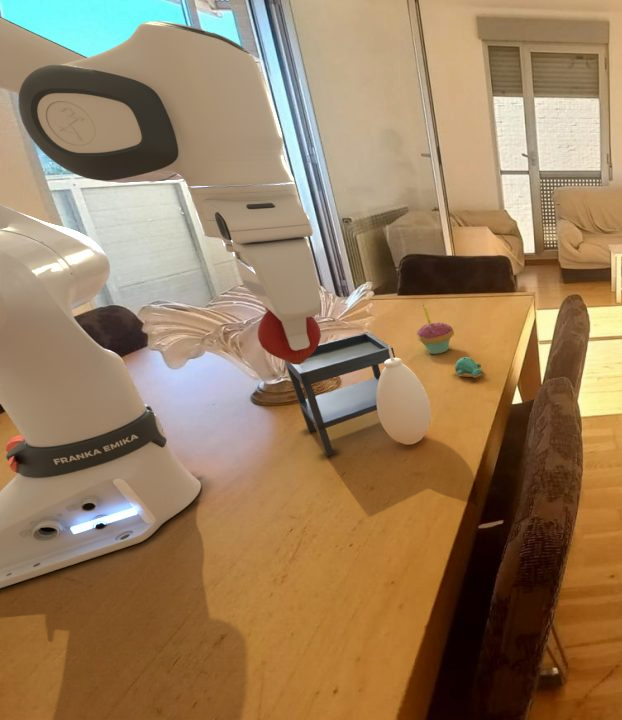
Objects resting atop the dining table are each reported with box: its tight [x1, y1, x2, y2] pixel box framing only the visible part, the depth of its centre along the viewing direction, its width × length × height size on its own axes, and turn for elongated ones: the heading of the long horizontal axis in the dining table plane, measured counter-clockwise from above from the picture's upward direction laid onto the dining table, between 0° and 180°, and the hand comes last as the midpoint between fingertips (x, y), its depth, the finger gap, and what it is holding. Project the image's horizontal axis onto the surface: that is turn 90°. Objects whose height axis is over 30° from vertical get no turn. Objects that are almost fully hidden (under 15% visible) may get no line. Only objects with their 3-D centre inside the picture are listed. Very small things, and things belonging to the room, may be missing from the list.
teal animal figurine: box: [454, 356, 485, 379], centre depth 105 cm, size 6×7×4 cm
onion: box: [257, 310, 322, 364], centre depth 54 cm, size 6×6×8 cm
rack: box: [283, 331, 396, 457], centre depth 84 cm, size 14×12×15 cm
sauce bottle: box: [376, 344, 432, 445], centre depth 78 cm, size 8×8×18 cm
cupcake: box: [416, 304, 455, 355], centre depth 118 cm, size 9×8×12 cm
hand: (292, 339), depth 54 cm, fingers closed on onion, 6 cm apart
